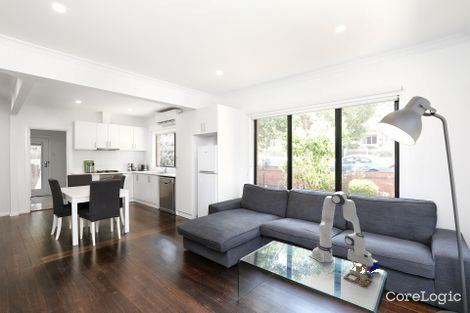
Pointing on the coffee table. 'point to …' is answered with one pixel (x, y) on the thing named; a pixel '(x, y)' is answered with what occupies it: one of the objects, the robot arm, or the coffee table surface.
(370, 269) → the puzzle cube
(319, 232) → the robot arm
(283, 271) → the coffee table surface
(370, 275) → the button housing
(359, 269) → the billet
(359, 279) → the pallet board
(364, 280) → the billet
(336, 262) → the coffee table surface
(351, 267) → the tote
